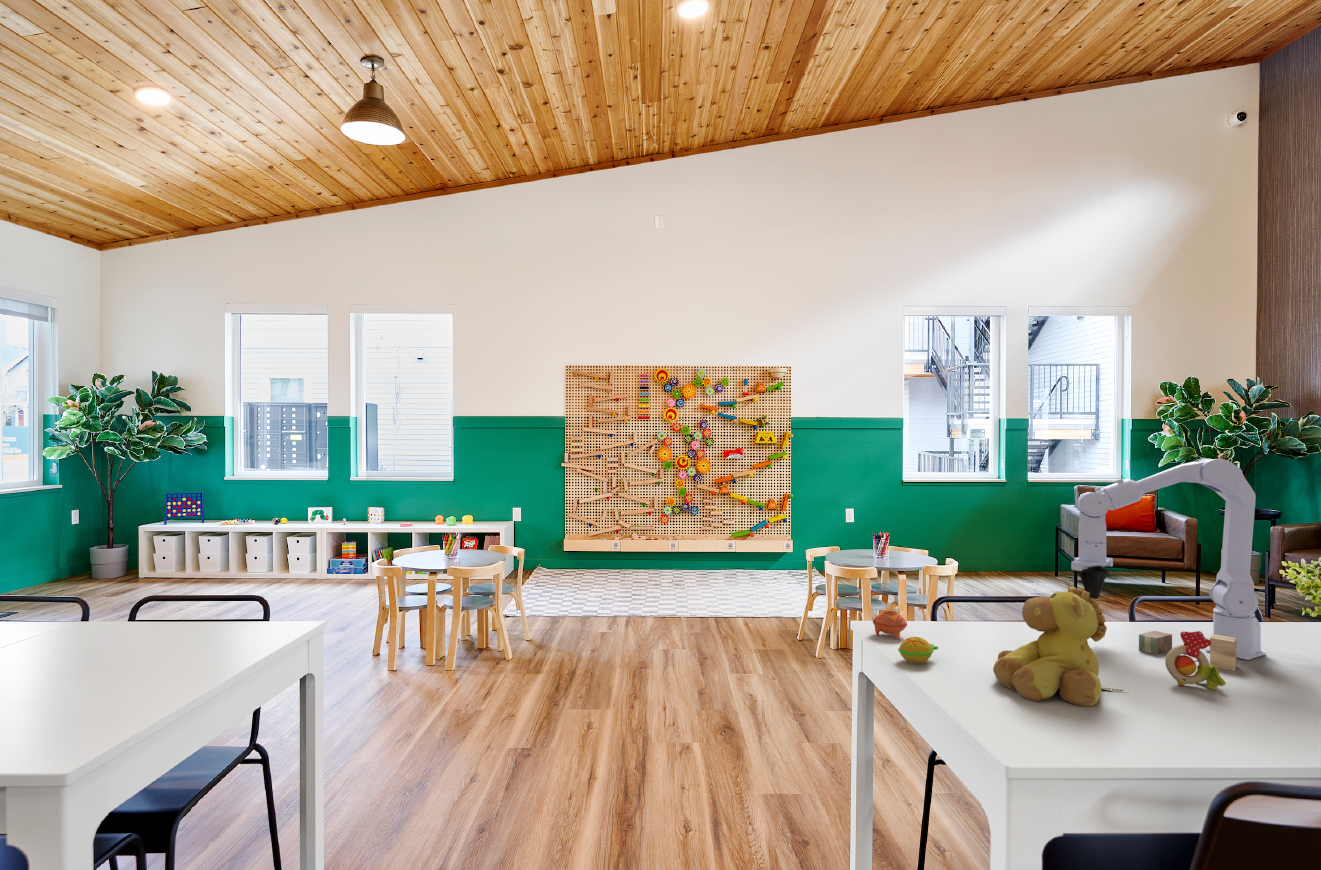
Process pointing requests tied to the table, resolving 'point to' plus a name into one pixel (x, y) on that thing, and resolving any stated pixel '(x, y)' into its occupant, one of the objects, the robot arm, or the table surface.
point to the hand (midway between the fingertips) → (1092, 597)
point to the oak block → (1223, 652)
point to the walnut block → (1155, 642)
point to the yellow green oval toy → (916, 650)
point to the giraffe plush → (1057, 650)
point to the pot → (889, 623)
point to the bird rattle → (1192, 662)
